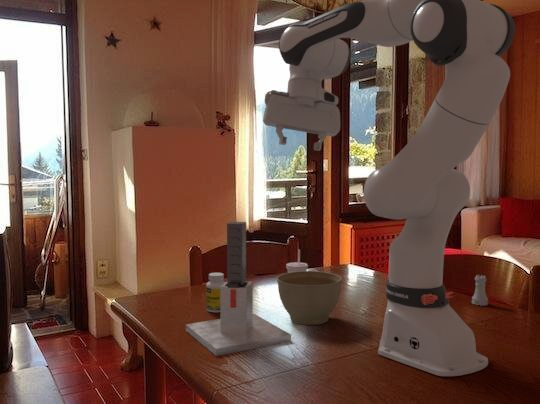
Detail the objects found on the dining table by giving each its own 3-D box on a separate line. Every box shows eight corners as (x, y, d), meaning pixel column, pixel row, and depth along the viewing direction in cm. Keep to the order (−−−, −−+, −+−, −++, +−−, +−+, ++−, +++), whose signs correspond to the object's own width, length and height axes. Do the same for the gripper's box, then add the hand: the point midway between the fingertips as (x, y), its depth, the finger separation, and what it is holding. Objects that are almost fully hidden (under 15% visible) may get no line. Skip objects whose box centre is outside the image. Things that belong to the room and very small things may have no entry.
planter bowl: (322, 308, 140) (323, 268, 139) (353, 325, 125) (353, 281, 124) (267, 314, 135) (267, 273, 134) (292, 333, 120) (292, 287, 119)
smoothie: (308, 299, 148) (308, 251, 147) (286, 299, 149) (286, 251, 147) (307, 294, 155) (307, 247, 154) (285, 293, 155) (286, 247, 154)
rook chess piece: (485, 302, 147) (486, 274, 146) (490, 306, 142) (491, 277, 142) (469, 301, 147) (470, 273, 147) (473, 306, 143) (474, 277, 142)
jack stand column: (246, 325, 119) (246, 222, 117) (242, 330, 115) (242, 224, 113) (231, 324, 120) (230, 221, 118) (226, 329, 116) (225, 223, 114)
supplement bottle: (202, 311, 137) (202, 274, 136) (213, 306, 142) (213, 271, 141) (219, 314, 135) (219, 277, 134) (230, 308, 139) (230, 273, 139)
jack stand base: (253, 319, 130) (253, 269, 129) (291, 341, 115) (291, 284, 114) (185, 330, 121) (185, 277, 120) (216, 356, 106) (215, 294, 105)
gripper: (269, 84, 129) (264, 137, 127) (344, 98, 134) (341, 150, 132) (262, 92, 135) (257, 143, 133) (334, 106, 140) (331, 155, 138)
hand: (300, 147), depth 132 cm, fingers open, 8 cm apart
